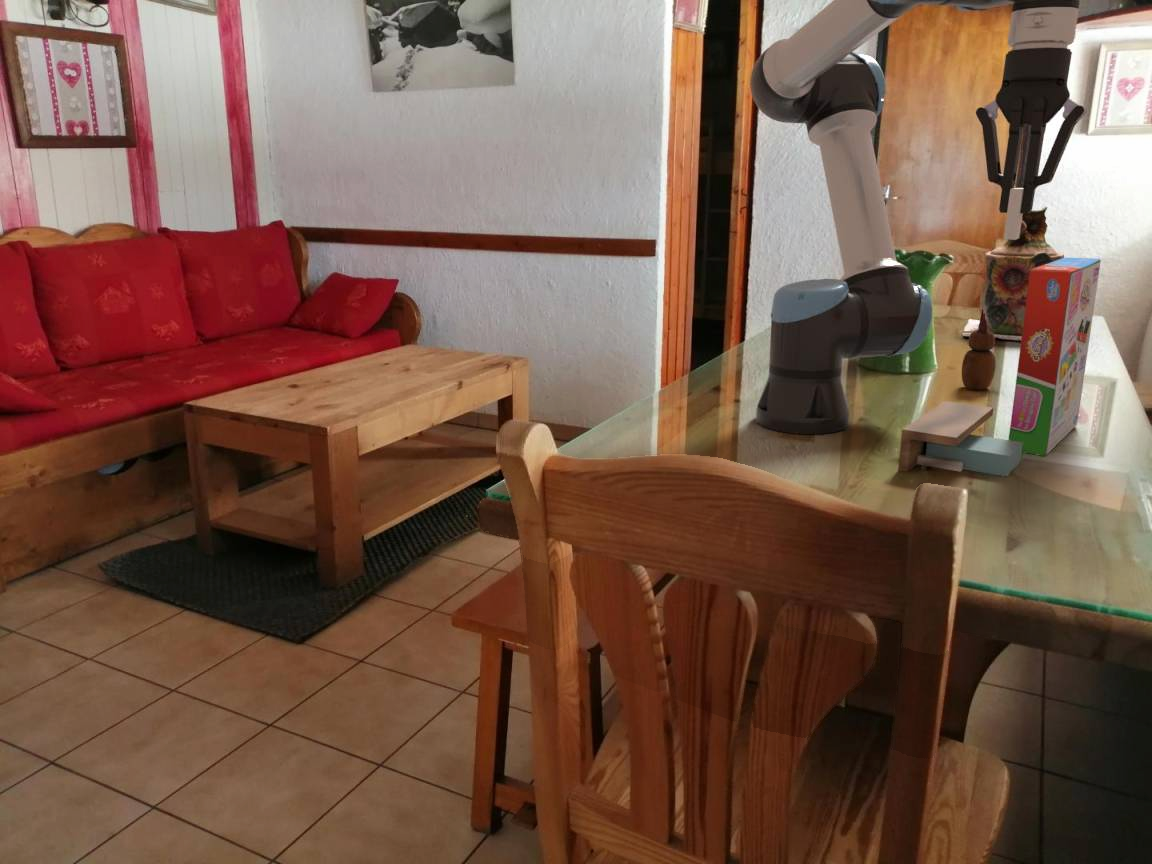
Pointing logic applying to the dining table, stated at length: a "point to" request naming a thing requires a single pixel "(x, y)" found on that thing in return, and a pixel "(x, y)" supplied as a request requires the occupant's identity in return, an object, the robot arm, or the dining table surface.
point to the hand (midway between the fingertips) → (1011, 238)
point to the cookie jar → (1013, 277)
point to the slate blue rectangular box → (981, 454)
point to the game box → (1053, 352)
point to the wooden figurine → (979, 358)
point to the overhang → (940, 433)
